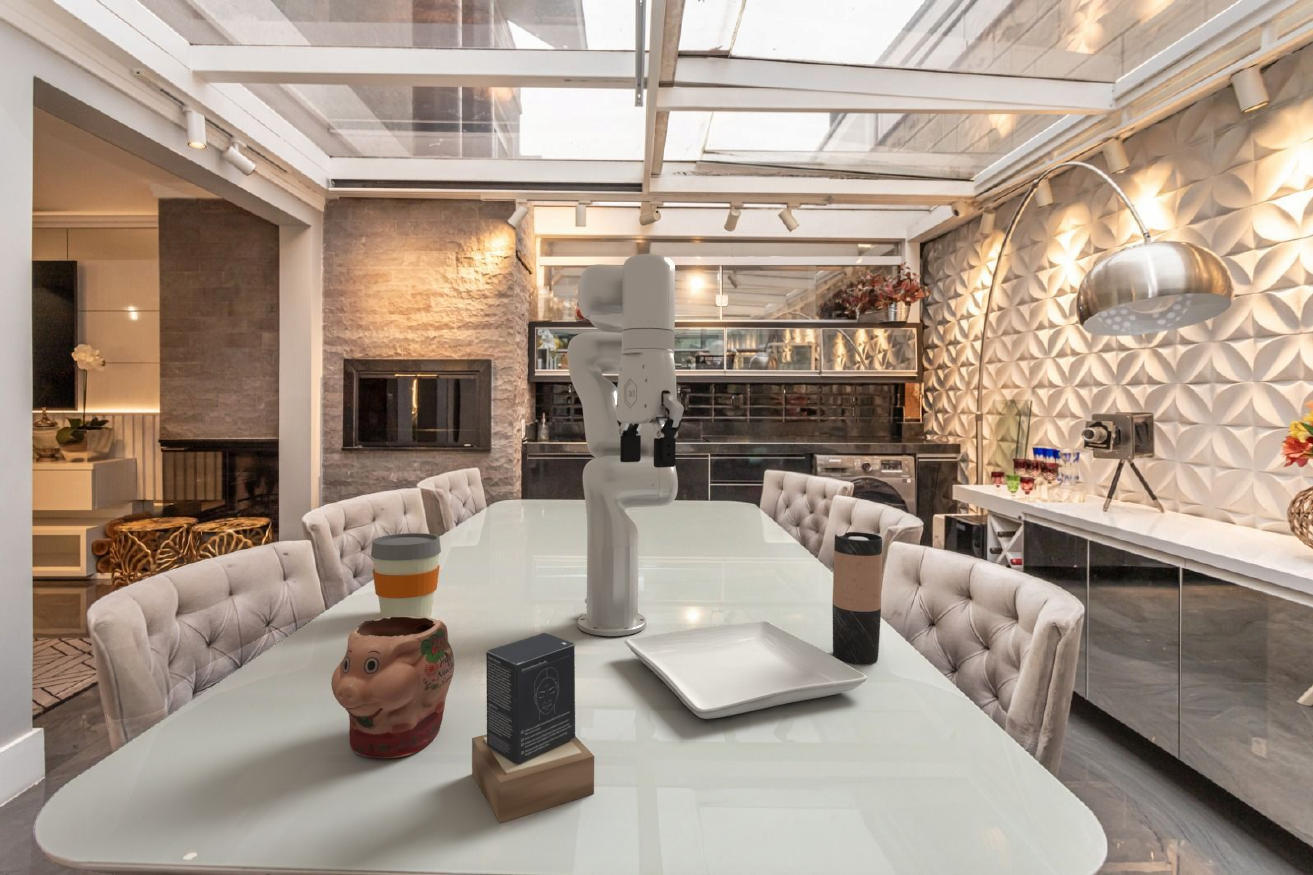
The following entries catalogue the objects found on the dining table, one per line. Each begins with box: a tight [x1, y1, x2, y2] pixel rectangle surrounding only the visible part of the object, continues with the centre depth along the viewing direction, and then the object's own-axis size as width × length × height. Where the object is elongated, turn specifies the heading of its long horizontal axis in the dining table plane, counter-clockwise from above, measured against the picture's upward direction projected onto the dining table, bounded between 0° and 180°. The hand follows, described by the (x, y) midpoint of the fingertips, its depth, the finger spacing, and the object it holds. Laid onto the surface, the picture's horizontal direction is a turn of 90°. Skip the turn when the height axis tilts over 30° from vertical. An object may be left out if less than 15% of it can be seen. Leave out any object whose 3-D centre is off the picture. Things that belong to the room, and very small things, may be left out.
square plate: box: [624, 620, 868, 720], centre depth 100 cm, size 27×27×4 cm
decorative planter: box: [331, 616, 455, 759], centre depth 81 cm, size 20×12×14 cm, turn 173°
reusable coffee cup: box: [370, 532, 442, 619], centre depth 126 cm, size 13×12×15 cm
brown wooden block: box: [471, 733, 595, 824], centre depth 70 cm, size 10×10×4 cm
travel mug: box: [832, 531, 883, 666], centre depth 108 cm, size 8×8×20 cm
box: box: [485, 632, 576, 765], centre depth 70 cm, size 8×6×11 cm
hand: (646, 464), depth 95 cm, fingers open, 9 cm apart
